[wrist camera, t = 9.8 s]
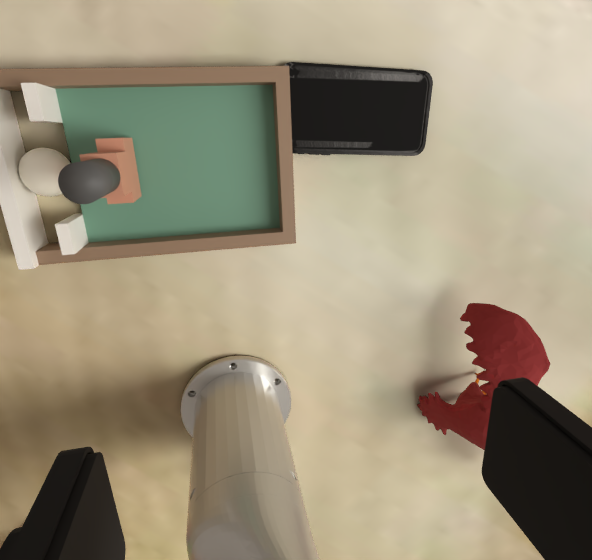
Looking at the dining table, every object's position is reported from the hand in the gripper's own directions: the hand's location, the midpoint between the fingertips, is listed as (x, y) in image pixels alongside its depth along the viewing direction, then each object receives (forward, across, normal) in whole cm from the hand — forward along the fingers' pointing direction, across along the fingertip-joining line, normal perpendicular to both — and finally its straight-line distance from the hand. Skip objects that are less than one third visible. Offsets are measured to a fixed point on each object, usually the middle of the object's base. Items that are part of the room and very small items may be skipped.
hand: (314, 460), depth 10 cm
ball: (+31, +16, -5) cm, 35 cm away
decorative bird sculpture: (+34, -27, +25) cm, 50 cm away
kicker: (+32, +9, -5) cm, 34 cm away
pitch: (+33, +6, -5) cm, 34 cm away
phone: (+34, -12, -9) cm, 37 cm away
